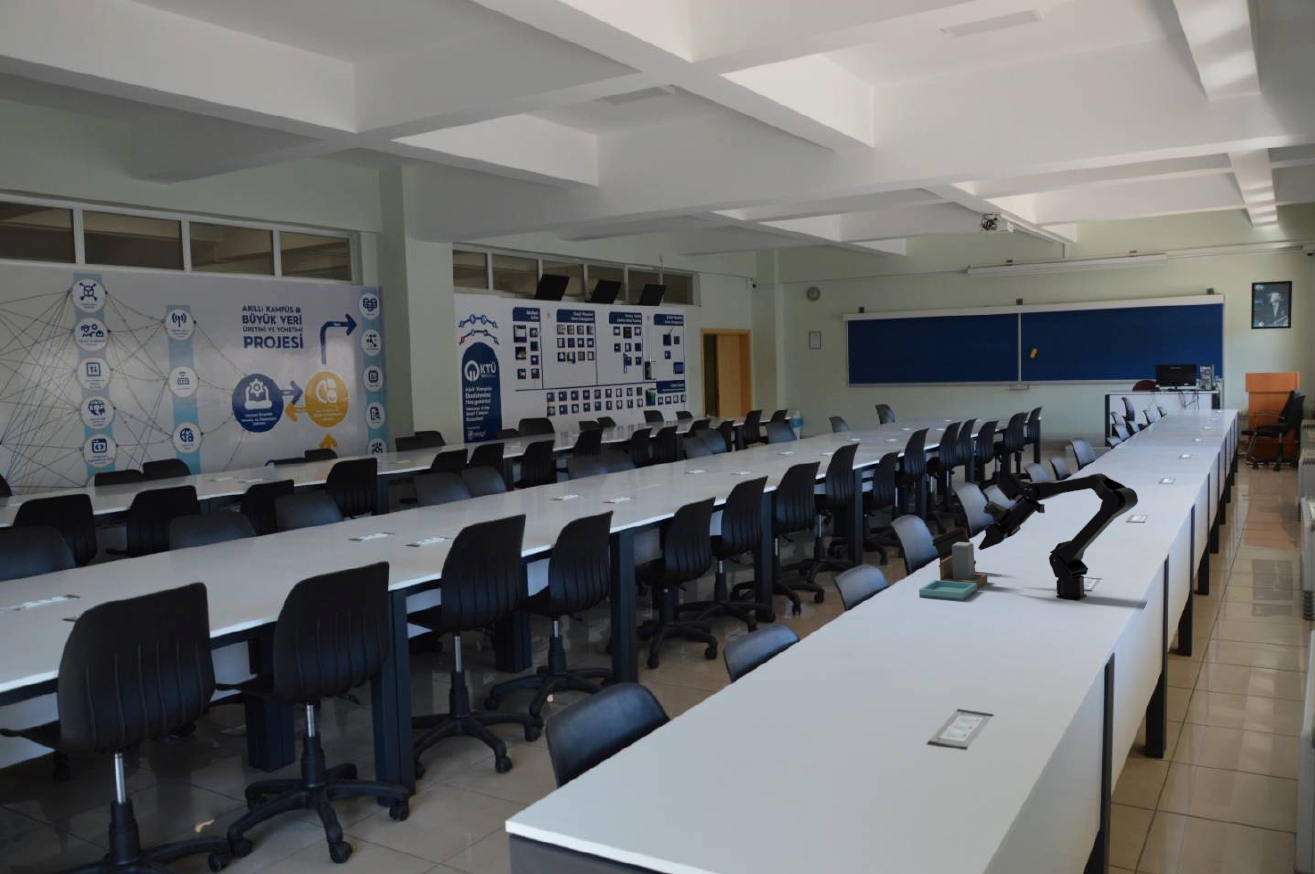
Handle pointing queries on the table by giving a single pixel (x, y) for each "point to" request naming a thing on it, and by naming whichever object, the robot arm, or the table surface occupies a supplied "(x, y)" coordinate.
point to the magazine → (950, 542)
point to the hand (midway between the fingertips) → (984, 546)
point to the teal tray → (948, 590)
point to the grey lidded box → (963, 561)
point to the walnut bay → (947, 573)
